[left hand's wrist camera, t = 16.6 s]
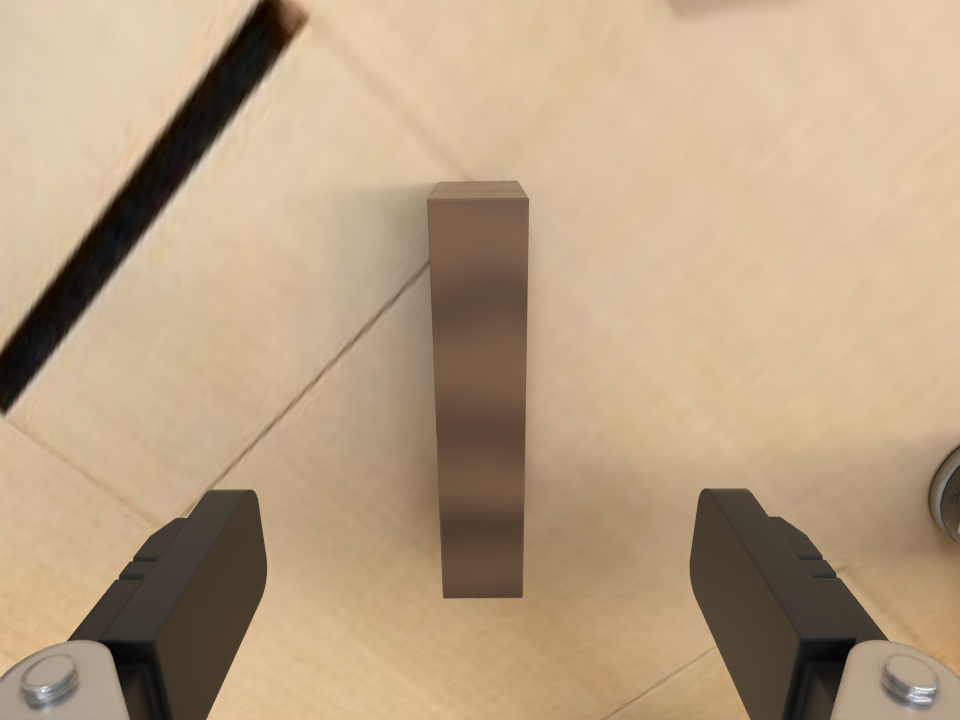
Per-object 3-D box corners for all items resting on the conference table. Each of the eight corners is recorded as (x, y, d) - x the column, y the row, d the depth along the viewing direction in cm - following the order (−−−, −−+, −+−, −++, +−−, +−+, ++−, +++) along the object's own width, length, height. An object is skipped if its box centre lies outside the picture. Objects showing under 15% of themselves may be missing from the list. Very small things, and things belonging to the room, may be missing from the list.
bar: (438, 182, 37) (427, 198, 29) (518, 181, 37) (529, 197, 29) (449, 513, 44) (442, 599, 36) (514, 512, 44) (522, 598, 36)
